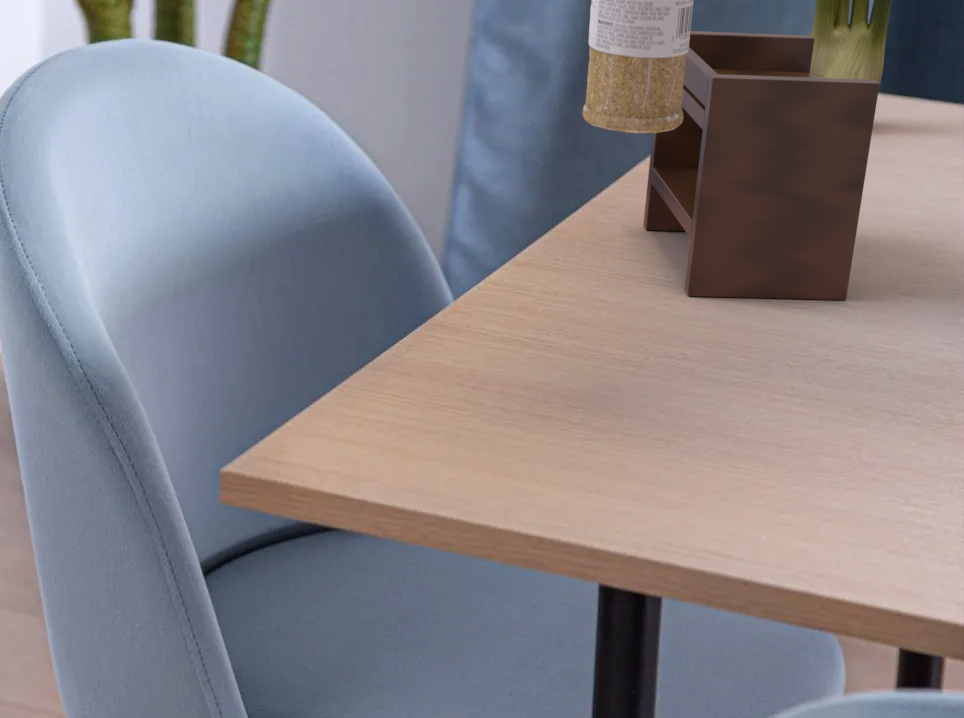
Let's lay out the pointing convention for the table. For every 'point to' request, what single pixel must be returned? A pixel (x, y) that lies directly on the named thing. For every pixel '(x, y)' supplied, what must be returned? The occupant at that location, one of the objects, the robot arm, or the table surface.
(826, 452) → the table surface
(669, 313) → the table surface
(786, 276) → the rack
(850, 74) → the fennel bulb
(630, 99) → the spice jar
